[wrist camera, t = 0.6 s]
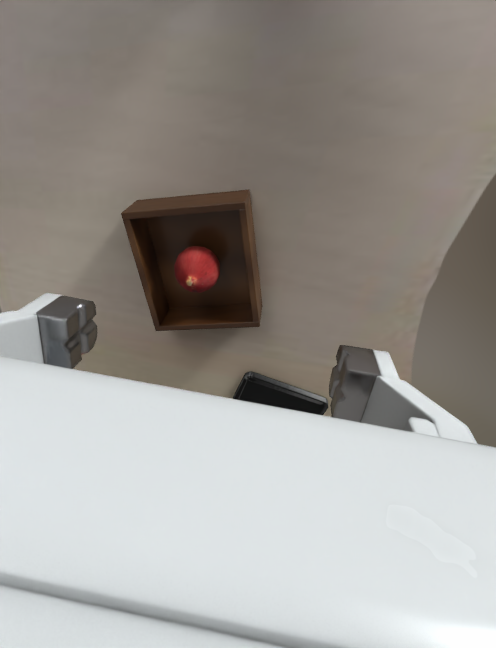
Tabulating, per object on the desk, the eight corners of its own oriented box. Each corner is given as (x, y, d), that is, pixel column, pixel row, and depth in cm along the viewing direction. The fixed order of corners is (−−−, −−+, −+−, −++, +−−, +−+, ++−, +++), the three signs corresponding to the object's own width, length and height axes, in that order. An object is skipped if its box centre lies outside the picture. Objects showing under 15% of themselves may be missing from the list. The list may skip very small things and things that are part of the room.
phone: (246, 374, 61) (330, 404, 63) (246, 369, 62) (330, 399, 64) (230, 405, 66) (309, 433, 67) (231, 401, 66) (309, 428, 68)
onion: (223, 279, 53) (213, 308, 47) (183, 275, 54) (167, 303, 47) (224, 239, 50) (213, 264, 43) (181, 235, 50) (164, 260, 44)
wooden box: (136, 200, 49) (120, 213, 44) (249, 189, 47) (244, 202, 42) (166, 311, 58) (155, 331, 53) (262, 306, 55) (259, 326, 51)
